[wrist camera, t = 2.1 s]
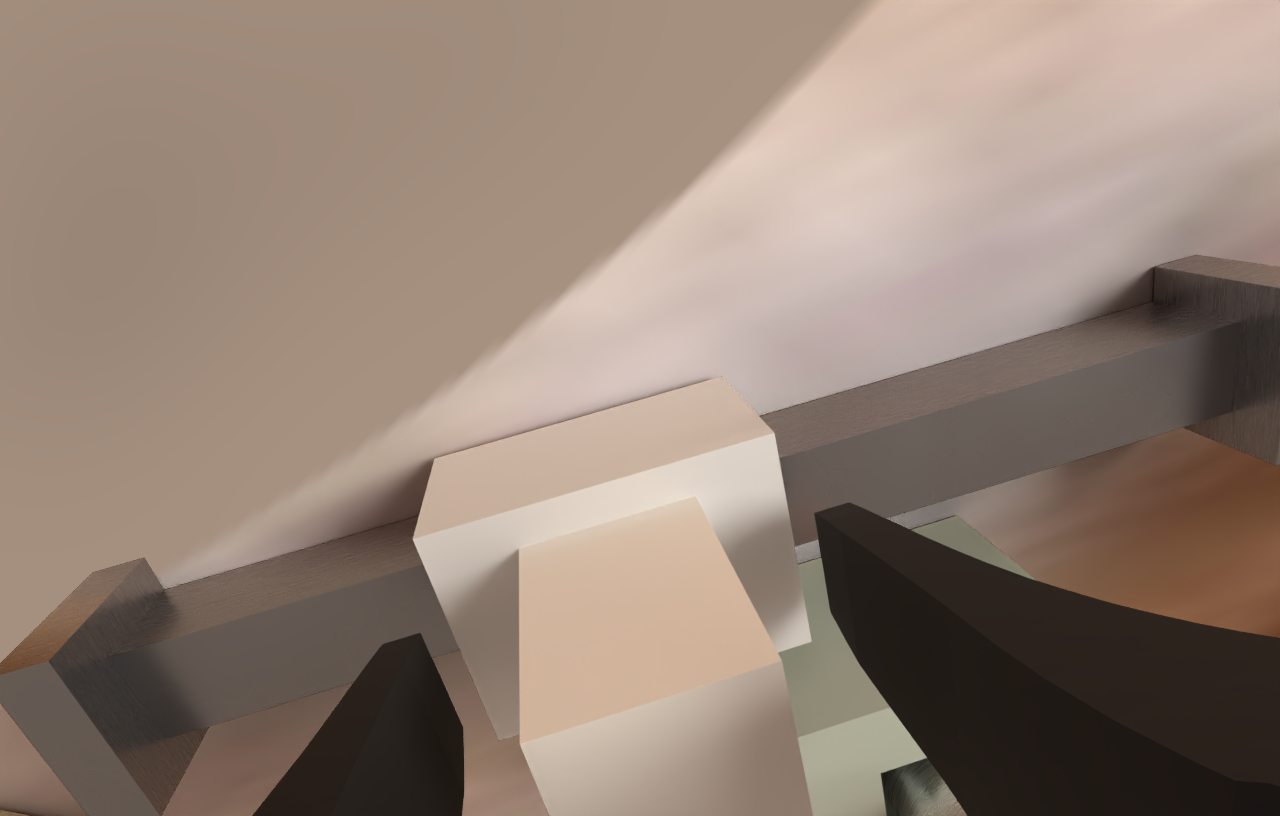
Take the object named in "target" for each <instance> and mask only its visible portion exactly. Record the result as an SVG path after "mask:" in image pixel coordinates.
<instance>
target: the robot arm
mask: <svg viewBox="0 0 1280 816" xmlns="http://www.w3.org/2000/svg"><path fill="white" fill-rule="evenodd" d="M814 515H815V521H816V527H817V533H818V540H819V546H820V552H821V558H822V564H823V570H824V577H825V583H826V589H827V595H828V601H829V607H830V612H831V614H832V616H833V618H834V620H835V621H836V623H837V625H838V627H839V629H840V631H841V633H842V634H843V636H844V638H845V640H846V642H847V644H848V645H849V647H850V649H851V651H852V652H853V654H854V656H855V658H856V659H857V661H858V663H859V665H860V666H861V667H862V669H863V670H864V672H865V673H866V674H867V676H868V677H869V679H870V680H871V681H872V683H873V684H874V686H875V687H876V688H877V690H878V691H879V693H880V694H881V695H882V697H883V698H884V700H885V701H886V702H887V704H888V705H889V706H890V708H891V709H892V711H893V712H894V713H895V715H896V716H897V717H898V719H899V720H900V721H901V723H902V724H903V726H904V727H905V728H906V730H907V731H908V732H909V734H910V735H911V737H912V738H913V739H914V741H915V742H916V743H917V745H918V746H919V747H920V749H921V750H922V752H923V753H924V754H925V756H926V757H927V758H928V760H929V761H930V763H931V764H932V765H933V767H934V768H935V769H936V771H937V772H938V774H939V775H940V776H941V778H942V779H943V780H944V782H945V783H946V785H947V786H948V788H949V789H950V791H951V792H952V794H953V795H954V797H955V798H956V800H957V801H958V803H959V804H960V805H961V807H962V808H963V810H964V811H965V813H966V815H967V816H1280V638H1277V637H1270V636H1264V635H1258V634H1252V633H1246V632H1240V631H1235V630H1229V629H1224V628H1219V627H1214V626H1208V625H1203V624H1198V623H1193V622H1189V621H1184V620H1180V619H1175V618H1171V617H1167V616H1162V615H1158V614H1154V613H1149V612H1145V611H1140V610H1136V609H1132V608H1128V607H1124V606H1120V605H1116V604H1113V603H1109V602H1105V601H1101V600H1098V599H1095V598H1091V597H1088V596H1085V595H1081V594H1078V593H1074V592H1071V591H1068V590H1064V589H1061V588H1058V587H1054V586H1051V585H1048V584H1045V583H1042V582H1039V581H1036V580H1033V579H1030V578H1027V577H1024V576H1022V575H1019V574H1016V573H1014V572H1011V571H1008V570H1006V569H1003V568H1000V567H997V566H995V565H992V564H989V563H987V562H984V561H982V560H979V559H977V558H974V557H972V556H969V555H967V554H964V553H962V552H959V551H957V550H955V549H952V548H950V547H948V546H945V545H943V544H941V543H938V542H936V541H934V540H932V539H929V538H927V537H925V536H923V535H920V534H918V533H916V532H914V531H912V530H909V529H907V528H905V527H903V526H901V525H899V524H896V523H894V522H892V521H890V520H888V519H886V518H883V517H881V516H879V515H877V514H875V513H873V512H871V511H868V510H866V509H864V508H862V507H859V506H857V505H855V504H852V503H850V502H848V503H845V504H842V505H838V506H835V507H832V508H828V509H825V510H822V511H819V512H815V513H814ZM463 798H464V742H463V726H462V724H461V722H460V719H459V717H458V715H457V713H456V711H455V708H454V706H453V704H452V702H451V699H450V697H449V695H448V693H447V691H446V688H445V686H444V684H443V682H442V679H441V677H440V675H439V673H438V671H437V668H436V666H435V664H434V662H433V659H432V657H431V655H430V653H429V650H428V648H427V646H426V644H425V642H424V639H423V637H422V635H421V633H417V634H414V635H411V636H408V637H404V638H401V639H398V640H394V641H391V642H388V643H385V644H382V645H381V647H380V648H379V649H378V650H377V652H376V653H375V654H374V656H373V657H372V658H371V660H370V661H369V662H368V664H367V665H366V666H365V668H364V669H363V670H362V672H361V673H360V675H359V676H358V677H357V679H356V680H355V682H354V683H353V684H352V686H351V687H350V688H349V690H348V691H347V693H346V694H345V695H344V697H343V698H342V700H341V701H340V702H339V704H338V705H337V707H336V708H335V709H334V711H333V712H332V713H331V715H330V716H329V717H328V719H327V720H326V722H325V723H324V724H323V726H322V727H321V728H320V730H319V731H318V732H317V734H316V735H315V737H314V738H313V739H312V741H311V742H310V743H309V745H308V746H307V747H306V749H305V750H304V751H303V753H302V754H301V755H300V757H299V758H298V759H297V760H296V762H295V763H294V764H293V765H292V767H291V768H290V769H289V770H288V772H287V773H286V774H285V775H284V777H283V778H282V779H281V780H280V782H279V783H278V784H277V785H276V787H275V788H274V789H273V790H272V792H271V793H270V794H269V795H268V797H267V798H266V799H265V801H264V802H263V803H262V804H261V806H260V807H259V808H258V809H257V811H256V812H255V813H254V814H253V816H462V809H463Z"/></svg>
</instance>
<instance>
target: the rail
mask: <svg viewBox="0 0 1280 816" xmlns="http://www.w3.org/2000/svg"><path fill="white" fill-rule="evenodd" d="M759 417H760V418H761V419H762V420H763V421H764V422H765V423H766V424H767V425H768V426H769V428H770V429H771V430H772V431H773V432H774V433H775V438H776V444H777V450H778V455H779V461H780V466H781V472H782V478H783V483H784V489H785V494H786V500H787V506H788V511H789V517H790V523H791V528H792V534H793V539H794V545H795V546H798V545H801V544H804V543H807V542H811V541H814V540H817V539H818V533H817V527H816V521H815V515H814V513H815V512H819V511H822V510H825V509H828V508H832V507H835V506H838V505H842V504H845V503H848V502H850V503H852V504H855V505H857V506H859V507H862V508H864V509H866V510H868V511H871V512H873V513H875V514H877V515H879V516H881V517H883V518H889V517H892V516H895V515H899V514H902V513H905V512H908V511H912V510H915V509H918V508H921V507H925V506H928V505H931V504H934V503H938V502H941V501H944V500H947V499H951V498H954V497H957V496H960V495H964V494H967V493H970V492H973V491H977V490H980V489H983V488H986V487H990V486H993V485H996V484H999V483H1003V482H1006V481H1009V480H1013V479H1016V478H1019V477H1022V476H1026V475H1029V474H1032V473H1035V472H1039V471H1042V470H1045V469H1048V468H1052V467H1055V466H1058V465H1061V464H1065V463H1068V462H1071V461H1074V460H1078V459H1081V458H1084V457H1087V456H1091V455H1094V454H1097V453H1100V452H1104V451H1107V450H1110V449H1113V448H1117V447H1120V446H1123V445H1126V444H1130V443H1133V442H1136V441H1140V440H1143V439H1146V438H1149V437H1153V436H1156V435H1159V434H1162V433H1166V432H1169V431H1172V430H1175V429H1179V428H1185V429H1187V430H1190V431H1192V432H1195V433H1197V434H1200V435H1202V436H1204V437H1207V438H1209V439H1212V440H1214V441H1217V442H1219V443H1222V444H1224V445H1227V446H1229V447H1231V448H1234V449H1236V450H1239V451H1241V452H1244V453H1246V454H1249V455H1251V456H1254V457H1256V458H1258V459H1261V460H1263V461H1266V462H1268V463H1271V464H1273V465H1276V466H1277V465H1280V267H1276V266H1270V265H1263V264H1256V263H1249V262H1242V261H1235V260H1228V259H1221V258H1215V257H1208V256H1201V255H1194V256H1190V257H1187V258H1183V259H1180V260H1176V261H1173V262H1169V263H1166V264H1162V265H1159V266H1155V278H1154V298H1153V302H1150V303H1146V304H1143V305H1139V306H1136V307H1133V308H1129V309H1126V310H1122V311H1119V312H1115V313H1112V314H1109V315H1105V316H1102V317H1098V318H1095V319H1091V320H1088V321H1085V322H1081V323H1078V324H1074V325H1071V326H1067V327H1064V328H1061V329H1057V330H1054V331H1050V332H1047V333H1043V334H1040V335H1037V336H1033V337H1030V338H1026V339H1023V340H1019V341H1016V342H1013V343H1009V344H1006V345H1002V346H999V347H995V348H992V349H989V350H985V351H982V352H978V353H975V354H971V355H968V356H965V357H961V358H958V359H954V360H951V361H947V362H944V363H941V364H937V365H934V366H930V367H927V368H923V369H920V370H917V371H913V372H910V373H906V374H903V375H899V376H896V377H893V378H889V379H886V380H882V381H879V382H875V383H872V384H869V385H865V386H862V387H858V388H855V389H851V390H848V391H845V392H841V393H838V394H834V395H831V396H827V397H824V398H821V399H817V400H814V401H810V402H807V403H804V404H800V405H797V406H793V407H790V408H786V409H783V410H780V411H776V412H773V413H769V414H766V415H762V416H759ZM418 518H419V516H416V517H413V518H409V519H406V520H402V521H399V522H396V523H392V524H389V525H385V526H382V527H378V528H375V529H372V530H368V531H365V532H361V533H358V534H354V535H351V536H348V537H344V538H341V539H337V540H334V541H330V542H327V543H324V544H320V545H317V546H313V547H310V548H306V549H303V550H300V551H296V552H293V553H289V554H286V555H282V556H279V557H276V558H272V559H269V560H265V561H262V562H258V563H255V564H252V565H248V566H245V567H241V568H238V569H235V570H231V571H228V572H224V573H221V574H217V575H214V576H211V577H207V578H204V579H200V580H197V581H193V582H190V583H187V584H183V585H180V586H176V587H173V588H169V589H166V590H164V589H163V587H162V586H161V584H160V582H159V581H158V579H157V577H156V576H155V574H154V572H153V571H152V569H151V568H150V566H149V564H148V563H147V561H146V559H145V558H141V559H137V560H134V561H131V562H127V563H124V564H120V565H117V566H113V567H110V568H106V569H103V570H99V571H96V572H93V573H92V574H91V575H90V576H89V577H88V578H87V579H86V580H85V581H84V582H83V583H81V585H79V586H78V587H77V589H75V590H74V591H73V592H72V593H71V594H70V595H69V596H68V597H67V598H66V599H65V600H64V601H63V602H62V603H61V604H60V605H59V606H58V607H57V608H56V609H55V610H54V611H53V612H52V613H51V614H50V615H49V616H48V617H47V618H46V619H45V620H44V621H43V622H42V623H41V624H40V625H39V626H38V627H37V628H36V629H35V630H34V631H33V632H32V633H31V634H30V635H29V636H28V637H26V638H25V639H24V641H22V642H21V643H20V644H19V645H18V646H17V647H16V648H15V649H14V650H13V651H12V652H11V653H10V654H9V655H8V656H7V657H6V658H5V659H4V660H3V661H2V662H1V663H0V703H1V705H2V706H3V707H4V709H5V710H6V711H7V712H8V714H9V715H10V716H11V718H12V719H13V720H14V721H15V723H16V724H17V725H18V727H19V728H20V729H21V730H22V732H23V733H24V734H25V736H26V737H27V738H28V739H29V741H30V742H31V743H32V745H33V746H34V747H35V748H36V750H37V751H38V752H39V753H40V755H41V756H42V757H43V759H44V760H45V761H46V762H47V764H48V765H49V766H50V768H51V769H52V770H53V771H54V773H55V774H56V775H57V777H58V778H59V779H60V780H61V782H62V783H63V784H64V786H65V787H66V788H67V789H68V791H69V792H70V793H71V795H72V796H73V797H74V798H75V800H76V801H77V802H78V803H79V805H80V806H81V807H82V809H83V810H84V811H85V812H86V814H87V815H88V816H162V814H163V812H164V810H165V808H166V806H167V804H168V803H169V801H170V799H171V797H172V795H173V793H174V791H175V790H176V788H177V786H178V784H179V782H180V780H181V779H182V777H183V775H184V773H185V771H186V769H187V767H188V766H189V764H190V762H191V760H192V758H193V756H194V754H195V753H196V751H197V749H198V747H199V745H200V743H201V741H202V740H203V738H204V736H205V734H206V732H207V730H208V728H209V727H210V726H211V725H215V724H218V723H221V722H225V721H228V720H231V719H234V718H238V717H241V716H244V715H247V714H251V713H254V712H257V711H260V710H264V709H267V708H270V707H273V706H277V705H280V704H283V703H286V702H290V701H293V700H296V699H299V698H303V697H306V696H309V695H312V694H316V693H319V692H322V691H325V690H329V689H332V688H335V687H338V686H342V685H345V684H348V683H352V682H355V680H356V679H357V677H358V676H359V675H360V673H361V672H362V670H363V669H364V668H365V666H366V665H367V664H368V662H369V661H370V660H371V658H372V657H373V656H374V654H375V653H376V652H377V650H378V649H379V648H380V647H381V645H382V644H385V643H388V642H391V641H394V640H398V639H401V638H404V637H408V636H411V635H414V634H417V633H421V635H422V637H423V639H424V642H425V644H426V646H427V648H428V650H429V653H430V655H431V657H432V658H433V657H436V656H439V655H443V654H446V653H449V652H452V651H456V650H459V647H458V644H457V642H456V640H455V637H454V635H453V633H452V630H451V628H450V626H449V623H448V621H447V619H446V616H445V614H444V612H443V609H442V607H441V605H440V602H439V600H438V598H437V595H436V593H435V591H434V588H433V586H432V584H431V581H430V579H429V577H428V574H427V572H426V570H425V567H424V565H423V562H422V560H421V558H420V555H419V553H418V551H417V548H416V546H415V544H414V541H413V536H414V532H415V529H416V525H417V521H418Z"/></svg>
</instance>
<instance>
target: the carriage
mask: <svg viewBox="0 0 1280 816" xmlns="http://www.w3.org/2000/svg"><path fill="white" fill-rule="evenodd" d="M413 541H414V544H415V546H416V548H417V551H418V553H419V555H420V558H421V560H422V562H423V565H424V567H425V570H426V572H427V574H428V577H429V579H430V581H431V584H432V586H433V588H434V591H435V593H436V595H437V598H438V600H439V602H440V605H441V607H442V609H443V612H444V614H445V616H446V619H447V621H448V623H449V626H450V628H451V630H452V633H453V635H454V637H455V640H456V642H457V644H458V647H459V649H460V651H461V654H462V656H463V658H464V661H465V663H466V666H467V668H468V670H469V673H470V675H471V677H472V680H473V682H474V684H475V687H476V689H477V691H478V694H479V696H480V698H481V701H482V703H483V705H484V708H485V710H486V712H487V715H488V717H489V719H490V722H491V724H492V726H493V729H494V731H495V733H496V736H497V738H498V740H499V741H501V740H504V739H508V738H511V737H514V736H517V735H520V746H521V748H522V751H523V753H524V756H525V758H526V761H527V763H528V765H529V768H530V770H531V773H532V775H533V778H534V780H535V782H536V785H537V787H538V790H539V792H540V795H541V797H542V799H543V802H544V804H545V807H546V809H547V811H548V814H549V816H813V812H812V807H811V802H810V797H809V792H808V787H807V782H806V777H805V772H804V767H803V762H802V757H801V752H800V747H799V742H798V738H797V733H796V728H795V723H794V718H793V713H792V708H791V703H790V698H789V693H788V688H787V683H786V678H785V673H784V668H783V663H782V660H781V658H780V656H779V654H778V652H781V651H784V650H787V649H791V648H794V647H797V646H800V645H803V644H806V643H809V642H812V640H811V635H810V629H809V623H808V618H807V612H806V607H805V601H804V595H803V590H802V584H801V579H800V573H799V567H798V562H797V556H796V551H795V545H794V539H793V534H792V528H791V523H790V517H789V511H788V506H787V500H786V494H785V489H784V483H783V478H782V472H781V466H780V461H779V455H778V450H777V444H776V438H775V433H774V432H773V431H772V430H771V429H770V428H769V426H768V425H767V424H766V423H765V422H764V421H763V420H762V419H761V418H760V417H759V416H758V415H757V414H756V412H755V411H754V410H753V409H752V408H751V407H750V406H749V405H748V404H747V403H746V402H745V401H744V400H743V398H742V397H741V396H740V395H739V394H738V393H737V392H736V391H735V390H734V389H733V388H732V387H731V386H730V385H729V383H728V382H727V381H726V380H725V379H724V378H723V377H722V376H721V377H718V378H714V379H711V380H707V381H704V382H700V383H697V384H693V385H690V386H686V387H683V388H679V389H676V390H672V391H669V392H665V393H662V394H659V395H655V396H652V397H648V398H645V399H641V400H638V401H634V402H631V403H627V404H624V405H620V406H617V407H613V408H610V409H606V410H603V411H599V412H596V413H592V414H589V415H585V416H582V417H578V418H575V419H571V420H568V421H564V422H561V423H557V424H554V425H550V426H547V427H543V428H540V429H536V430H533V431H529V432H526V433H522V434H519V435H515V436H512V437H508V438H505V439H501V440H498V441H494V442H491V443H487V444H484V445H480V446H477V447H473V448H470V449H466V450H463V451H459V452H456V453H452V454H449V455H445V456H442V457H438V458H435V459H434V463H433V466H432V470H431V474H430V477H429V481H428V485H427V488H426V492H425V496H424V499H423V503H422V507H421V510H420V514H419V518H418V521H417V525H416V529H415V532H414V536H413Z"/></svg>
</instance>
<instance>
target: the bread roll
mask: <svg viewBox="0 0 1280 816" xmlns="http://www.w3.org/2000/svg"><path fill="white" fill-rule="evenodd" d="M0 816H29V815H25V814H20V813H15V812H9V811H3V810H0Z"/></svg>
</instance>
